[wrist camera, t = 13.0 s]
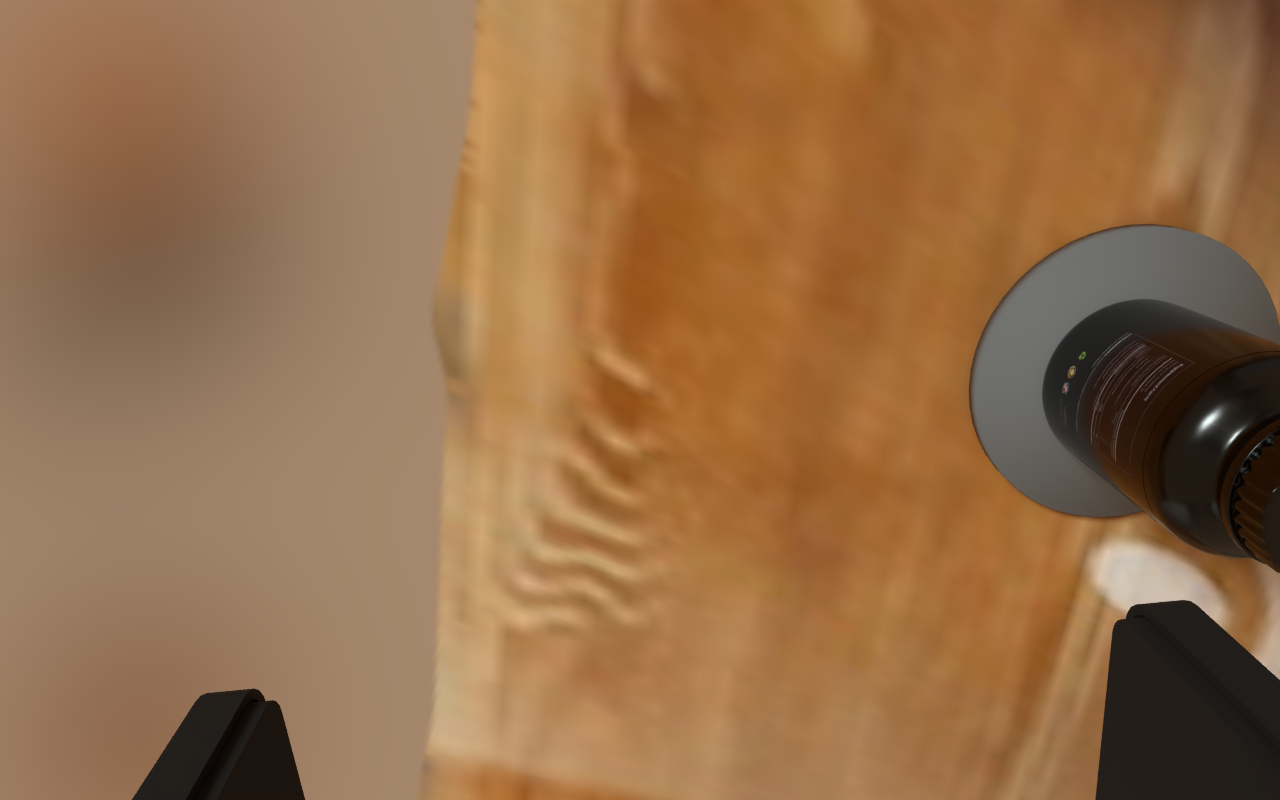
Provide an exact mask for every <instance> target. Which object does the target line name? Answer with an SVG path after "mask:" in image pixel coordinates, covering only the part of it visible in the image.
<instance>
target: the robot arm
mask: <svg viewBox="0 0 1280 800" xmlns="http://www.w3.org/2000/svg"><path fill="white" fill-rule="evenodd" d="M132 800H305V797H304V794H303V790H302V786H301V782H300V778H299V775H298V771H297V767H296V763H295V760H294V756H293V752H292V748H291V744H290V741H289V737H288V733H287V729H286V726H285V722H284V718H283V714H282V711H281V708H280V705H279V704H278V703H277V702H276V701H273V700H272V701H265V699H264V696H263V695H262V693H261V692H260V691H259V690H256V689H247V690H235V691H225V692H214V693H206V694H204V695H201V696H200V697H199V698H198V699H197V701H196V702H195V703H194V705H193V706H192V708H191V709H190V711H189V712H188V714H187V716H186V717H185V719H184V720H183V722H182V723H181V725H180V726H179V728H178V729H177V731H176V733H175V734H174V736H173V737H172V739H171V740H170V742H169V743H168V745H167V746H166V748H165V750H164V751H163V753H162V754H161V756H160V757H159V759H158V760H157V762H156V764H155V765H154V767H153V768H152V770H151V771H150V773H149V774H148V776H147V777H146V779H145V781H144V782H143V784H142V785H141V787H140V788H139V790H138V791H137V793H136V794H135V796H134V797H133V799H132ZM1096 800H1280V680H1279V679H1278V678H1277V677H1276V676H1275V675H1273V674H1272V673H1271V672H1270V671H1269V670H1268V669H1267V668H1266V667H1265V666H1263V665H1262V664H1261V663H1260V662H1259V661H1258V660H1257V659H1256V658H1255V657H1254V656H1252V655H1251V654H1250V653H1249V652H1248V651H1247V650H1246V649H1245V648H1244V647H1242V646H1241V645H1240V644H1239V643H1238V642H1237V641H1236V640H1235V639H1234V638H1233V637H1231V636H1230V635H1229V634H1228V633H1227V632H1226V631H1225V630H1224V629H1223V628H1221V627H1220V626H1219V625H1218V624H1217V623H1216V622H1215V621H1214V620H1213V619H1212V618H1210V617H1209V616H1208V615H1207V614H1206V613H1205V612H1204V611H1203V610H1202V609H1200V608H1199V607H1198V606H1197V605H1195V604H1194V603H1192V602H1191V601H1186V600H1179V601H1169V602H1158V603H1148V604H1137V605H1134V606H1132V607H1131V608H1130V609H1129V611H1128V613H1127V616H1126V619H1121V620H1118V621H1117V622H1116V623H1115V625H1114V628H1113V632H1112V642H1111V652H1110V662H1109V672H1108V682H1107V692H1106V701H1105V711H1104V721H1103V731H1102V741H1101V751H1100V761H1099V771H1098V781H1097V790H1096Z"/></svg>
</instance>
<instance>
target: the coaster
mask: <svg viewBox="0 0 1280 800" xmlns="http://www.w3.org/2000/svg"><path fill="white" fill-rule="evenodd" d="M1135 299H1154V300H1161V301H1165V302H1169V303H1173V304H1176V305H1179V306H1181V307H1184V308H1187V309H1190V310H1193V311H1195V312H1198V313H1200V314H1203V315H1205V316H1208V317H1210V318H1213V319H1216V320H1218V321H1221V322H1223V323H1226V324H1228V325H1231V326H1233V327H1236V328H1238V329H1241V330H1244V331H1246V332H1249V333H1251V334H1254V335H1256V336H1259V337H1261V338H1264V339H1267V340H1269V341H1272V342H1274V343H1277V344H1279V345H1280V329H1279V324H1278V319H1277V314H1276V310H1275V307H1274V304H1273V302H1272V299H1271V296H1270V294H1269V292H1268V290H1267V288H1266V287H1265V285H1264V283H1263V281H1262V280H1261V278H1260V277H1259V276H1258V274H1257V273H1256V272H1255V271H1254V269H1253V268H1252V267H1251V266H1250V264H1249V263H1247V262H1246V261H1245V260H1244V259H1243V258H1242V257H1241V256H1239V255H1238V254H1237V253H1236V252H1235V251H1233V250H1231V249H1230V248H1228V247H1227V246H1225V245H1224V244H1222V243H1220V242H1218V241H1216V240H1214V239H1211V238H1209V237H1207V236H1204V235H1202V234H1198V233H1194V232H1191V231H1187V230H1183V229H1179V228H1175V227H1171V226H1163V225H1154V224H1143V225H1127V226H1120V227H1114V228H1109V229H1106V230H1102V231H1099V232H1095V233H1092V234H1089V235H1087V236H1084V237H1082V238H1079V239H1077V240H1075V241H1072V242H1070V243H1068V244H1067V245H1065V246H1063V247H1061V248H1059V249H1058V250H1056V251H1054V252H1052V253H1051V254H1049V255H1048V256H1047V257H1045V258H1044V259H1043V260H1041V261H1040V262H1038V263H1037V264H1036V265H1034V266H1033V267H1032V268H1031V269H1030V270H1029V271H1028V272H1027V273H1026V274H1024V275H1023V276H1022V277H1021V278H1020V279H1019V280H1018V281H1017V282H1016V283H1015V284H1014V286H1013V287H1012V288H1011V289H1010V290H1009V291H1008V292H1007V294H1006V295H1005V296H1004V297H1003V299H1002V300H1001V302H1000V303H999V305H998V306H997V307H996V309H995V310H994V312H993V313H992V315H991V317H990V319H989V321H988V323H987V325H986V326H985V328H984V330H983V332H982V335H981V337H980V340H979V343H978V345H977V348H976V351H975V355H974V359H973V363H972V367H971V374H970V384H969V402H970V411H971V417H972V422H973V426H974V429H975V432H976V435H977V438H978V440H979V442H980V444H981V446H982V448H983V450H984V452H985V454H986V455H987V457H988V458H989V459H990V461H991V462H992V464H993V465H994V466H995V468H996V469H997V470H998V471H999V472H1000V473H1001V474H1002V475H1003V476H1004V477H1005V478H1006V479H1007V480H1008V481H1009V482H1010V483H1011V484H1012V485H1013V486H1014V487H1015V488H1016V489H1018V490H1019V491H1020V492H1022V493H1023V494H1024V495H1026V496H1027V497H1028V498H1030V499H1032V500H1034V501H1036V502H1038V503H1040V504H1041V505H1043V506H1046V507H1048V508H1051V509H1054V510H1057V511H1060V512H1063V513H1068V514H1073V515H1077V516H1088V517H1115V516H1121V515H1128V514H1134V513H1138V512H1141V511H1143V510H1141V509H1140V508H1139V507H1138V506H1136V505H1135V504H1134V503H1133V502H1131V501H1130V500H1129V499H1128V498H1126V497H1125V496H1124V495H1123V494H1121V493H1120V492H1119V491H1118V490H1117V489H1115V488H1114V487H1113V486H1112V485H1110V484H1109V483H1108V482H1107V481H1105V480H1104V479H1103V478H1102V477H1100V476H1099V475H1098V474H1097V473H1095V472H1094V471H1093V470H1092V469H1091V468H1089V467H1088V466H1087V465H1086V464H1084V463H1083V462H1082V461H1081V460H1079V459H1078V458H1077V457H1076V456H1075V455H1074V454H1073V453H1071V452H1070V451H1069V450H1068V449H1067V448H1066V447H1065V446H1064V445H1063V444H1062V443H1061V442H1060V441H1059V440H1058V439H1057V438H1056V436H1055V435H1054V433H1053V432H1052V430H1051V428H1050V427H1049V424H1048V422H1047V420H1046V417H1045V413H1044V409H1043V403H1042V386H1043V379H1044V375H1045V371H1046V368H1047V365H1048V363H1049V360H1050V358H1051V356H1052V354H1053V352H1054V351H1055V349H1056V347H1057V346H1058V344H1059V343H1060V342H1061V340H1062V339H1063V338H1064V337H1065V335H1066V334H1067V333H1068V332H1069V331H1070V330H1071V329H1072V328H1073V327H1074V326H1075V325H1077V324H1078V323H1079V322H1080V321H1082V320H1083V319H1084V318H1086V317H1087V316H1089V315H1090V314H1092V313H1094V312H1095V311H1097V310H1099V309H1102V308H1104V307H1106V306H1109V305H1111V304H1114V303H1118V302H1122V301H1127V300H1135Z"/></svg>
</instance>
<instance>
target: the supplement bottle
mask: <svg viewBox="0 0 1280 800" xmlns="http://www.w3.org/2000/svg"><path fill="white" fill-rule="evenodd" d="M1042 403H1043V409H1044V413H1045V417H1046V420H1047V422H1048V424H1049V427H1050V428H1051V430H1052V432H1053V433H1054V435H1055V436H1056V438H1057V439H1058V440H1059V441H1060V442H1061V443H1062V444H1063V445H1064V446H1065V447H1066V448H1067V449H1068V450H1069V451H1070V452H1071V453H1073V454H1074V455H1075V456H1076V457H1077V458H1078V459H1079V460H1081V461H1082V462H1083V463H1084V464H1086V465H1087V466H1088V467H1089V468H1091V469H1092V470H1093V471H1094V472H1095V473H1097V474H1098V475H1099V476H1100V477H1102V478H1103V479H1104V480H1105V481H1107V482H1108V483H1109V484H1110V485H1112V486H1113V487H1114V488H1115V489H1117V490H1118V491H1119V492H1120V493H1121V494H1123V495H1124V496H1125V497H1126V498H1128V499H1129V500H1130V501H1131V502H1133V503H1134V504H1135V505H1136V506H1138V507H1139V508H1140V509H1141V510H1143V511H1144V512H1145V513H1146V514H1147V515H1149V516H1150V517H1151V518H1152V519H1154V520H1155V521H1156V522H1157V523H1159V524H1160V525H1161V526H1162V527H1164V528H1165V529H1166V530H1167V531H1169V532H1170V533H1171V534H1172V535H1174V536H1175V537H1177V538H1178V539H1180V540H1181V541H1183V542H1184V543H1186V544H1187V545H1189V546H1191V547H1193V548H1195V549H1197V550H1200V551H1202V552H1205V553H1207V554H1211V555H1214V556H1219V557H1225V558H1234V559H1255V560H1257V561H1259V562H1261V563H1264V564H1266V565H1268V566H1269V567H1271V568H1272V569H1273V570H1275V571H1276V572H1278V573H1280V345H1279V344H1277V343H1274V342H1272V341H1269V340H1267V339H1264V338H1261V337H1259V336H1256V335H1254V334H1251V333H1249V332H1246V331H1244V330H1241V329H1238V328H1236V327H1233V326H1231V325H1228V324H1226V323H1223V322H1221V321H1218V320H1216V319H1213V318H1210V317H1208V316H1205V315H1203V314H1200V313H1198V312H1195V311H1193V310H1190V309H1187V308H1184V307H1181V306H1179V305H1176V304H1173V303H1169V302H1165V301H1161V300H1154V299H1135V300H1127V301H1122V302H1118V303H1114V304H1111V305H1109V306H1106V307H1104V308H1102V309H1099V310H1097V311H1095V312H1094V313H1092V314H1090V315H1089V316H1087V317H1086V318H1084V319H1083V320H1082V321H1080V322H1079V323H1078V324H1077V325H1075V326H1074V327H1073V328H1072V329H1071V330H1070V331H1069V332H1068V333H1067V334H1066V335H1065V337H1064V338H1063V339H1062V340H1061V342H1060V343H1059V344H1058V346H1057V347H1056V349H1055V351H1054V352H1053V354H1052V356H1051V358H1050V360H1049V363H1048V365H1047V368H1046V371H1045V375H1044V379H1043V386H1042Z"/></svg>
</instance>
